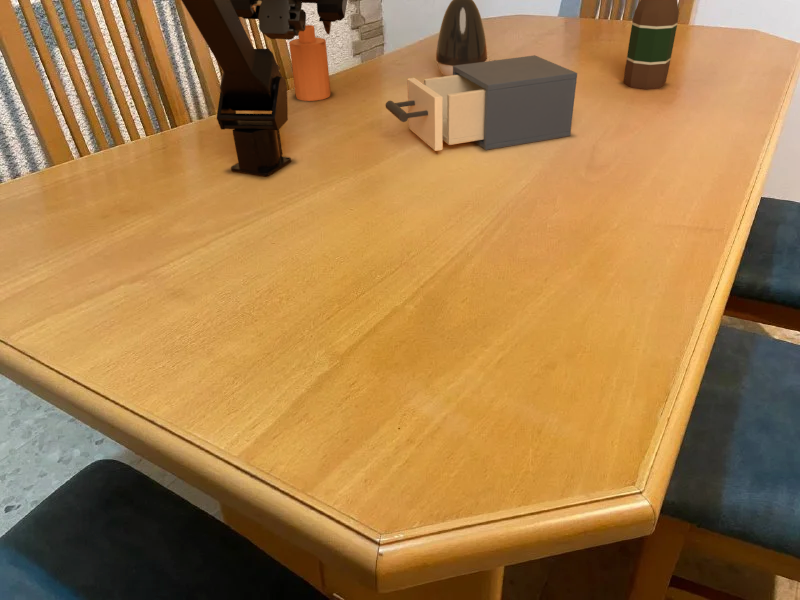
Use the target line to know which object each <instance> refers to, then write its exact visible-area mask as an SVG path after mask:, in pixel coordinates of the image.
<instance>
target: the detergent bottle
mask: <svg viewBox="0 0 800 600" xmlns="http://www.w3.org/2000/svg"><path fill="white" fill-rule="evenodd" d="M297 37H298V38H295V39H291V40H289V42H288V44H289V45H288V46H289V51H290V52H289V53H290V54H289V55H290V60H291V61H290V62H291V69H292V78H293V85H294V92H295V97H296V99H297V100H300V101H305V102H314V101H316V102H317V101H322V100H325V99H328V98H330V97H331V81H330V73H329V62H328V60H329V59H328V51H327V41H326V38H323V37H316V32H315V25H312V24H306V26H305V31H300V32H299V34H298V36H297Z"/></svg>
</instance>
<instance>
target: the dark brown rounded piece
mask: <svg viewBox="0 0 800 600" xmlns="http://www.w3.org/2000/svg"><path fill="white" fill-rule="evenodd" d="M487 47H488V46H487V39H486V33H485V29H484V25H483V19H482V17H481V13H480V11H479V8H478V6H477V4H476V2H475V1H474V0H451V1H450V3H449V4H448V6H447V8H446V10H445V12H444V15H443V17H442V20H441V24H440V28H439V33H438V38H437V44H436V50H435V51H436V52H435V61H436V62H437V65H438V69H439V71H440V72H441V74H442V75H443V76H451V75H453V66H455V65H463V64H471V63H479V62H486V61H487V59H488V48H487Z"/></svg>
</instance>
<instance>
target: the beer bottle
mask: <svg viewBox="0 0 800 600" xmlns="http://www.w3.org/2000/svg"><path fill="white" fill-rule="evenodd" d="M679 9H680V8H679V3H678V0H639V2H638V4H637V6H636V8H635V10H634V13H633V17H632V22H631V27H630V34H629V40H628V48H627V54H626V60H625V67H624V76H623V83H624V84H625V85H626V86H628V87H630V88H632V89H639V90H655V89H660V88H662V87H663V86H664V85H665V84H666V82H667V79H668V75H669V70H670V65H671V61H672V60H671V59H672V55H673V48H674V43H675V38H676V33H677V28H678V23H679V15H680V10H679Z"/></svg>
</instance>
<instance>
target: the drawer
mask: <svg viewBox="0 0 800 600" xmlns="http://www.w3.org/2000/svg"><path fill="white" fill-rule="evenodd" d="M406 80H407V81H406V82H407V100H406V101H400V102H394V101H393V100H388V101H386V103H385V109H386V110H388V112H390V113H391V114H392V115H393V116H394V117H395V118H396V119H397V120H399V121H400V122H401V123H405V122H407V121H408V129H410V131H411V132H413V134H415V135H416V136H417V137H418V138H420V139H421V140H422V141H423V142H424V143H425V144H426V145H428V147H430V148H431V149H432V150H433V151H434V152H437V151H443V142H444V143H446V144H447V145H449V146H452V145H457V144H458V145H459V144H464V143H470V142H474V141H477V140H483V139H484V118H485V92H486V89H484V88H482V87H481V86H479V85H477V84H475V83H474V82H472V81H470V80H468V79H467V78H465V77H463V76H461V75H460V74H458V75H451V76H444V75H443V76H437V77H429V78H424V79H423V82H421V81H420V80H419V79H417V78H415V77H410V78H407V79H406ZM404 107H407V112H406V111H405V110H404V109H403V108H404Z"/></svg>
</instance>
